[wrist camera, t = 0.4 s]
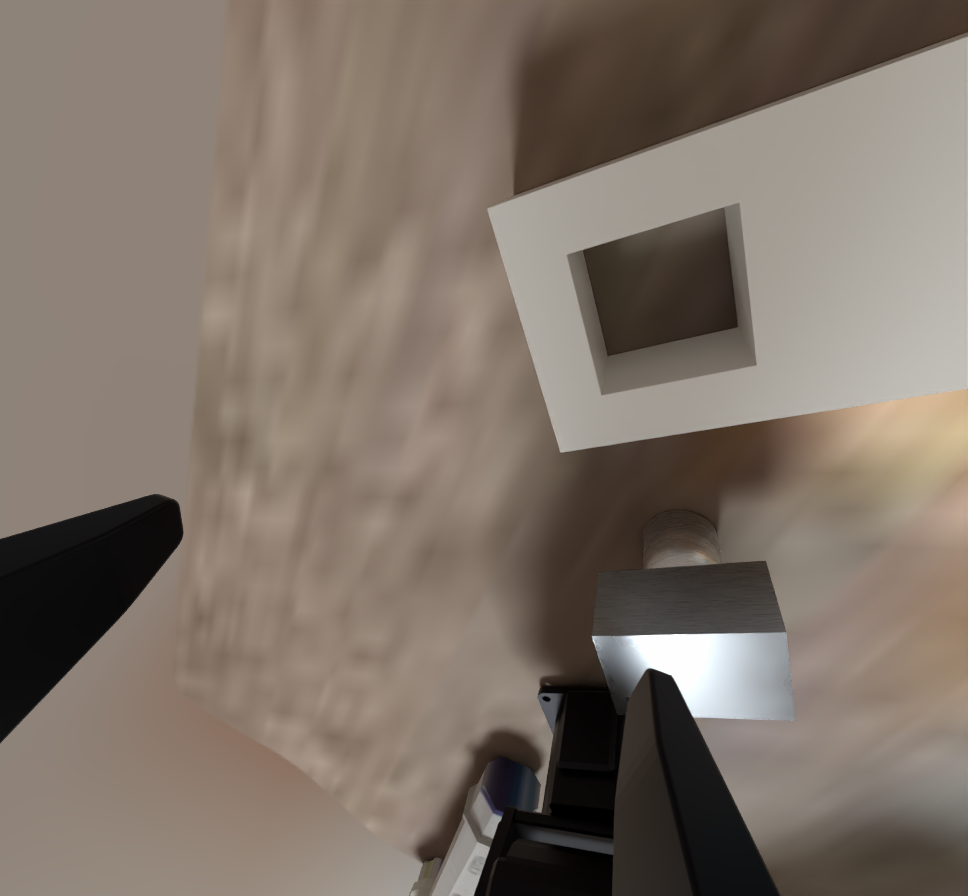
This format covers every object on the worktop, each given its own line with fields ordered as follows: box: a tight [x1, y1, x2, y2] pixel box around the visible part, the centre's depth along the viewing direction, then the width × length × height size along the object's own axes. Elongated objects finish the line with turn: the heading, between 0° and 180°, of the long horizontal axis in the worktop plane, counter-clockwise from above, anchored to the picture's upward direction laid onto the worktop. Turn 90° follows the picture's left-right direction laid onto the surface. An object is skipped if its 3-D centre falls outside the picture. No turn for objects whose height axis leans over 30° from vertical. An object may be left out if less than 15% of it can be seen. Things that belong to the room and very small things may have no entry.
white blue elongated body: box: [409, 756, 541, 896], centre depth 40 cm, size 5×7×25 cm
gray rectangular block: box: [592, 510, 795, 721], centre depth 20 cm, size 4×6×7 cm
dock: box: [487, 32, 968, 453], centre depth 13 cm, size 8×22×4 cm, turn 109°
